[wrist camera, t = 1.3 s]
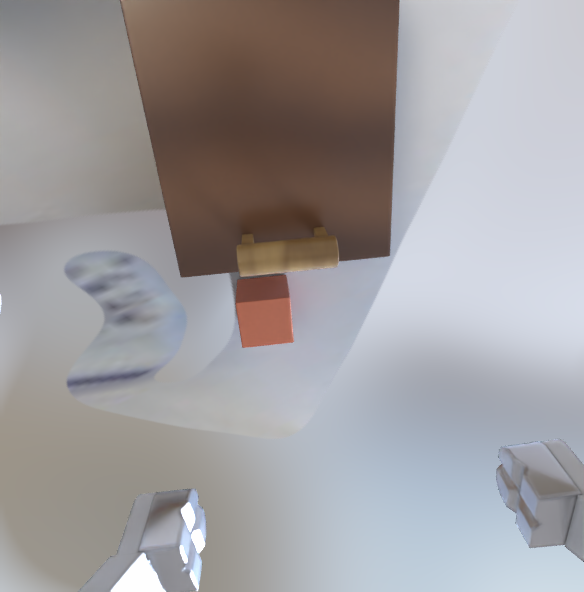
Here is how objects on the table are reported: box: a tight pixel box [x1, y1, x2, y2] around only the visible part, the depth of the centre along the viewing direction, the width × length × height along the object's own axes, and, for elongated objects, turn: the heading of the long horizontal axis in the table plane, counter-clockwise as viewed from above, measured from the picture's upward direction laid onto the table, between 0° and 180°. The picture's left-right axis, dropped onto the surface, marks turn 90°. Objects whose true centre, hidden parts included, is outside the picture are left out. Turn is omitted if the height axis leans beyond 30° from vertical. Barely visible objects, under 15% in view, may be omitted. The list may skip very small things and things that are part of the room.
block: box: [235, 275, 294, 348], centre depth 38 cm, size 4×4×4 cm
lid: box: [120, 0, 399, 277], centre depth 22 cm, size 17×14×5 cm
